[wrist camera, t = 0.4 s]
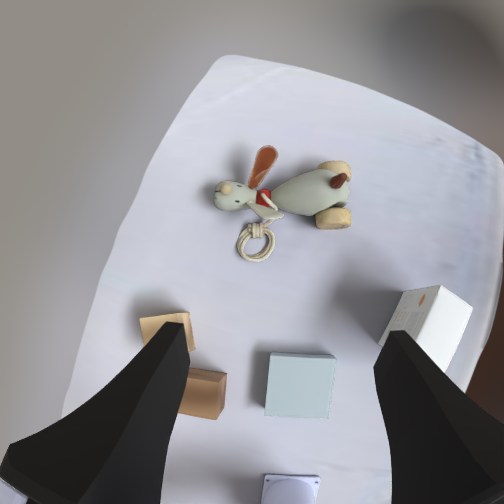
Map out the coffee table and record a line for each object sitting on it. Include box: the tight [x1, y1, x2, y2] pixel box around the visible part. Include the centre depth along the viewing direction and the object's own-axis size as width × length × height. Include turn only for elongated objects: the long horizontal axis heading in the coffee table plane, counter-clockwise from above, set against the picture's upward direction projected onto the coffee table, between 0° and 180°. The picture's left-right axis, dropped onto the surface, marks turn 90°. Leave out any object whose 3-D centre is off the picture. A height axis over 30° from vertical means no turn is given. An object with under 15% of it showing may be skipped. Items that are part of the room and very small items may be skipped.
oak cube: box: [139, 313, 195, 352], centre depth 35 cm, size 5×5×5 cm
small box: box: [378, 285, 473, 373], centre depth 29 cm, size 8×6×10 cm
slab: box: [264, 352, 337, 419], centre depth 33 cm, size 8×8×3 cm
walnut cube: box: [178, 368, 227, 420], centre depth 33 cm, size 5×5×5 cm
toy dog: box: [214, 145, 351, 262], centre depth 35 cm, size 12×19×9 cm, turn 109°
